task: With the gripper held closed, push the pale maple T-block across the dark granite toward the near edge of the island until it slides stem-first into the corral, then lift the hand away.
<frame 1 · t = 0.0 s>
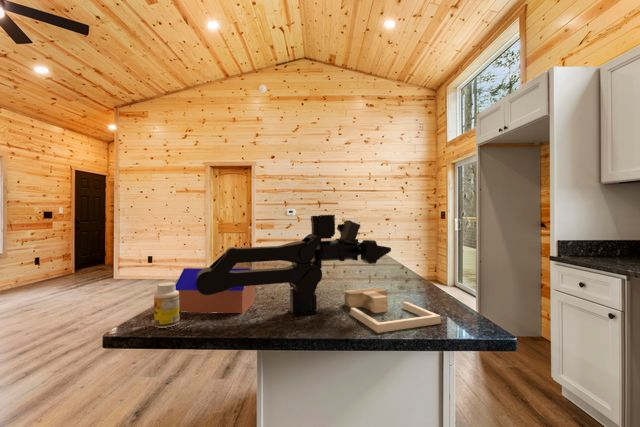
hand: (382, 248, 97), 17 cm above the countertop, tool horizontal, fingers open, 9 cm apart
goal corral: (393, 318, 81), on the countertop
tee block: (365, 304, 96), on the countertop
house: (216, 308, 94), on the countertop
supplement bottle: (167, 326, 78), on the countertop
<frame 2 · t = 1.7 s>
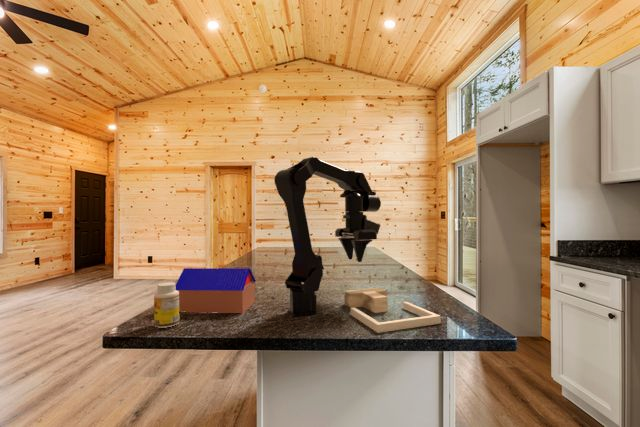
hand: (355, 260, 102), 12 cm above the countertop, tool pointing down, fingers open, 6 cm apart
nothing on the countertop moved.
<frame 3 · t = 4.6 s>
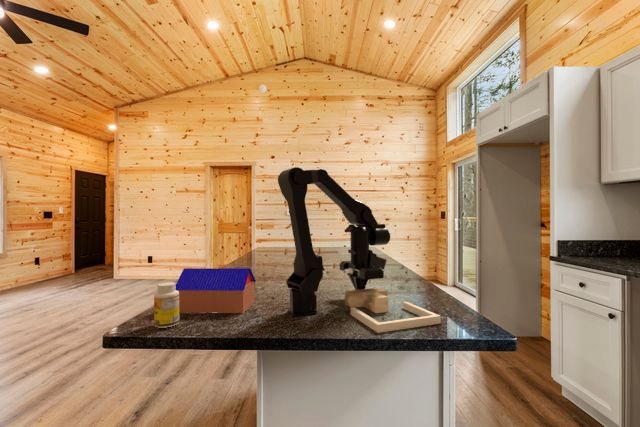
hand: (360, 297, 99), 1 cm above the countertop, tool pointing down, fingers closed
tee block: (366, 304, 95), on the countertop, touching gripper
everything else where it was.
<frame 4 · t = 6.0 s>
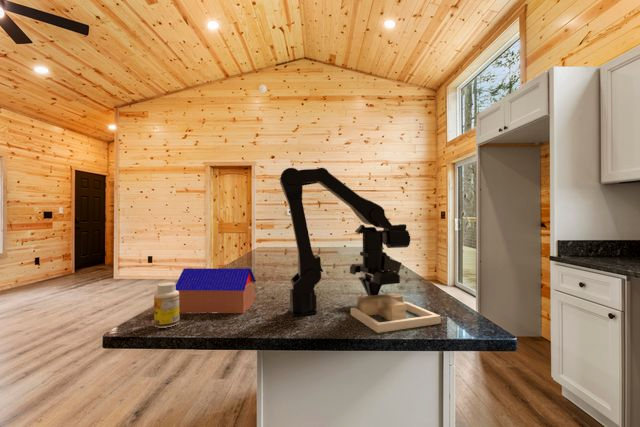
hand: (373, 303, 91), 1 cm above the countertop, tool pointing down, fingers closed
tee block: (380, 311, 88), on the countertop, touching gripper
everything else where it was.
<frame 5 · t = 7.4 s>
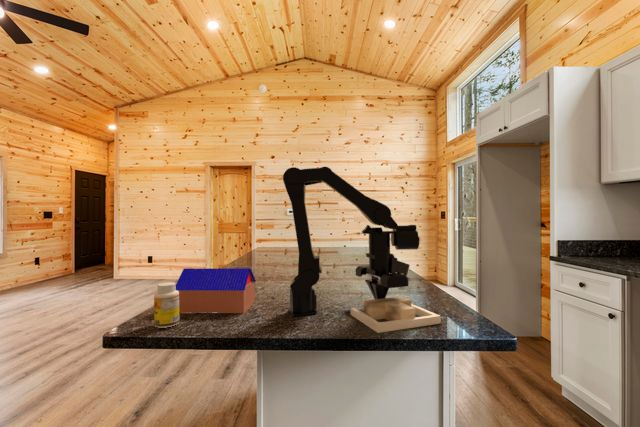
hand: (380, 306, 88), 1 cm above the countertop, tool pointing down, fingers closed
tee block: (387, 315, 84), on the countertop, touching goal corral, gripper
everything else where it was.
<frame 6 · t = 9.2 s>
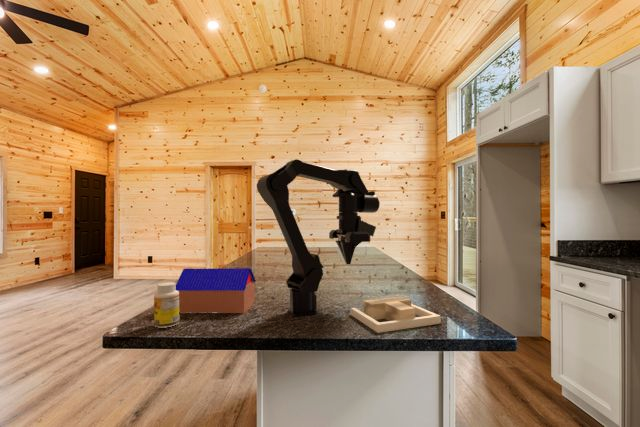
hand: (348, 264, 96), 12 cm above the countertop, tool pointing down, fingers closed
tee block: (387, 315, 84), on the countertop
everything else where it was.
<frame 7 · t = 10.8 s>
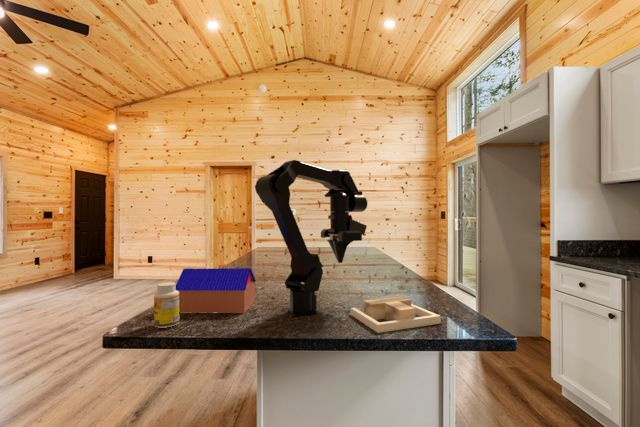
hand: (340, 262, 98), 12 cm above the countertop, tool pointing down, fingers closed
nothing on the countertop moved.
at the end: tee block 0.3 cm from the target spot, on the countertop; tee block tilted 0° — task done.
